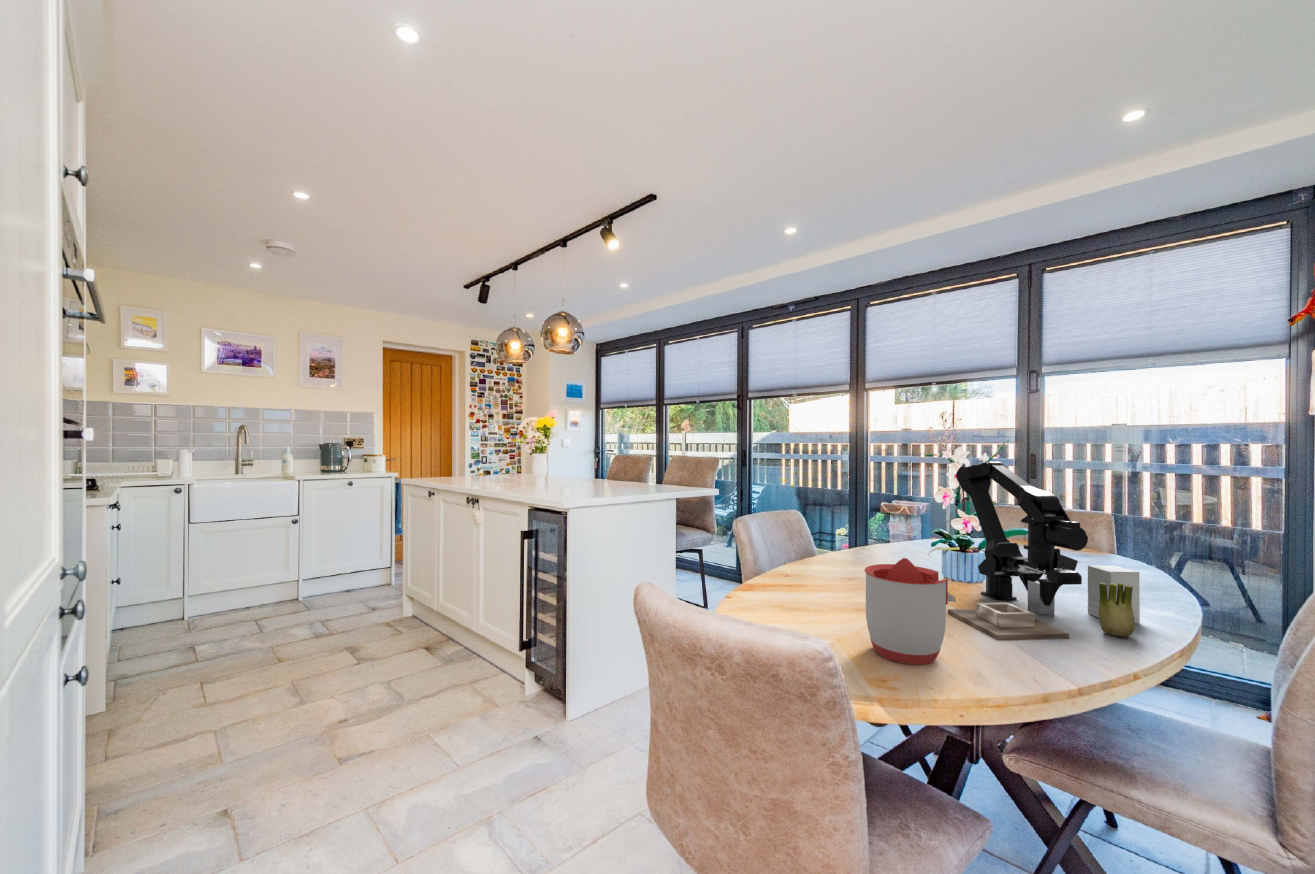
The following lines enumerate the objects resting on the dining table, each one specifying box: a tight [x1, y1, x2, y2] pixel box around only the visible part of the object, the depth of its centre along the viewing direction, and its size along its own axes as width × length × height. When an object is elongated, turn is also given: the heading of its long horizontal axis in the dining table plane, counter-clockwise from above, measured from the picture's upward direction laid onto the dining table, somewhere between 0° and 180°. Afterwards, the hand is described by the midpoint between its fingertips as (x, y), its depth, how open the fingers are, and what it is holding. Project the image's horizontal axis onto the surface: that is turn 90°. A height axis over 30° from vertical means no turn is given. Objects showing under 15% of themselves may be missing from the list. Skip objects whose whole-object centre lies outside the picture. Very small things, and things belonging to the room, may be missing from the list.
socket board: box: [947, 602, 1070, 640], centre depth 129 cm, size 18×17×4 cm
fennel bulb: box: [1098, 583, 1136, 639], centre depth 122 cm, size 6×5×12 cm
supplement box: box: [1087, 564, 1141, 624], centre depth 134 cm, size 7×7×13 cm
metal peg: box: [1027, 580, 1056, 617], centre depth 138 cm, size 4×4×8 cm
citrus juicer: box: [864, 557, 957, 665], centre depth 110 cm, size 16×17×20 cm
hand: (1040, 602), depth 138 cm, fingers closed on metal peg, 4 cm apart
